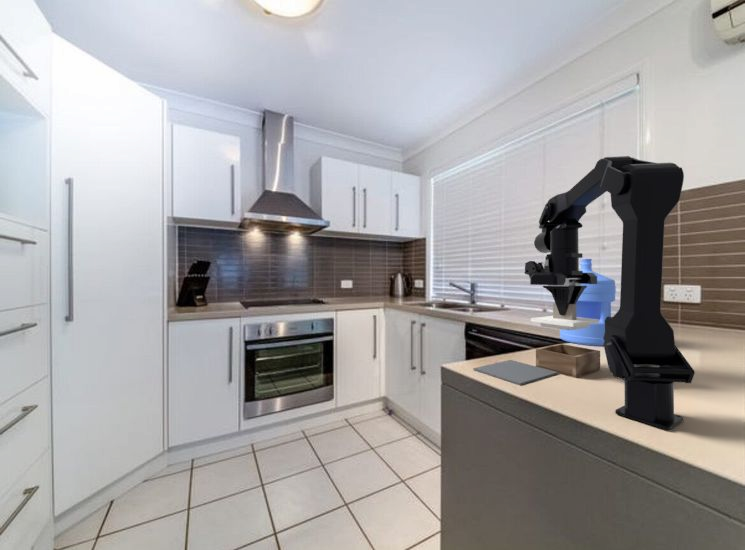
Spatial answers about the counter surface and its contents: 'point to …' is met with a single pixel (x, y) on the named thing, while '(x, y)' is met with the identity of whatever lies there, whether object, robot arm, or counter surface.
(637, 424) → the counter surface
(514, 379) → the mat
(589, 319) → the lid
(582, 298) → the water jug
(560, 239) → the robot arm
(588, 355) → the box
